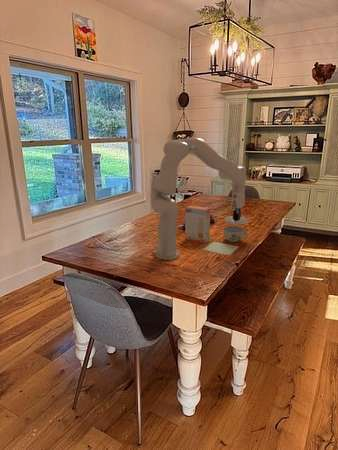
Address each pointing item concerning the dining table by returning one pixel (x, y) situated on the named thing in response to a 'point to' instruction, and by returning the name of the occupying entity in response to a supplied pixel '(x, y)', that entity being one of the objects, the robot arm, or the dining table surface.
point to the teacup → (234, 233)
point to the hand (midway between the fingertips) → (236, 218)
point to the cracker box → (197, 224)
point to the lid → (240, 220)
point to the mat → (221, 248)
